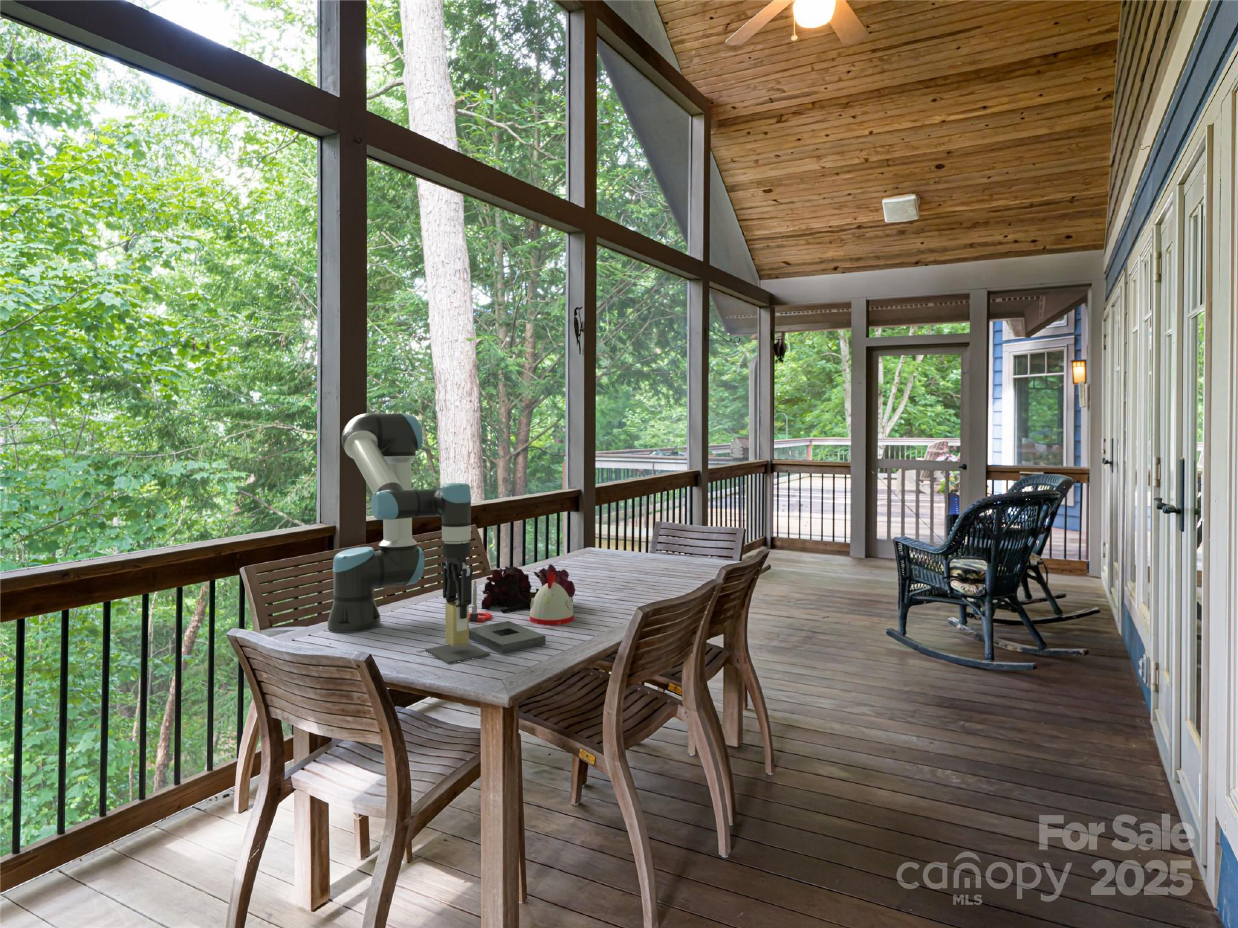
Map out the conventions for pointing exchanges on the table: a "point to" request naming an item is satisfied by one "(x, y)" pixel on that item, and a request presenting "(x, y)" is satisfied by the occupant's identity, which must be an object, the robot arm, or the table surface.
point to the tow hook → (474, 614)
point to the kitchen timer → (551, 604)
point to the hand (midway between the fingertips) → (457, 627)
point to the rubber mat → (457, 652)
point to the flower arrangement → (519, 587)
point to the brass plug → (452, 635)
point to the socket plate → (506, 637)
